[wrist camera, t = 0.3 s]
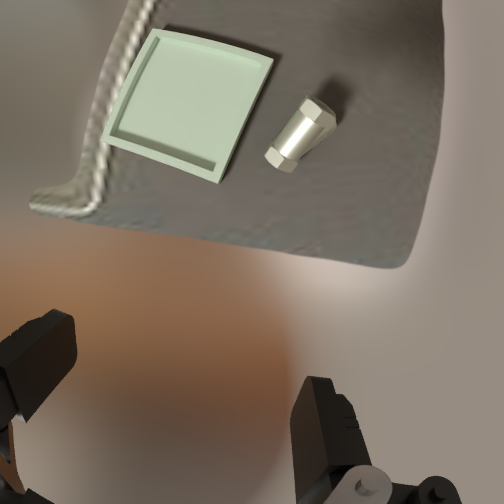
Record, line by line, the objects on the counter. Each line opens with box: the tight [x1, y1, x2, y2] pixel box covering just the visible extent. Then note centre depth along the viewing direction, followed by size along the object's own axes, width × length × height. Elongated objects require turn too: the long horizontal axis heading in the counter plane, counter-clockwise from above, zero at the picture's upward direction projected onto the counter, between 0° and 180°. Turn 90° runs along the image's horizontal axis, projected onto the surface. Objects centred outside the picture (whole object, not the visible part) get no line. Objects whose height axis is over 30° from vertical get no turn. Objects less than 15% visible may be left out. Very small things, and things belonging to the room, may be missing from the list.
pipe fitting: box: [265, 95, 337, 172], centre depth 29 cm, size 8×4×7 cm
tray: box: [100, 29, 274, 184], centre depth 30 cm, size 16×16×2 cm
